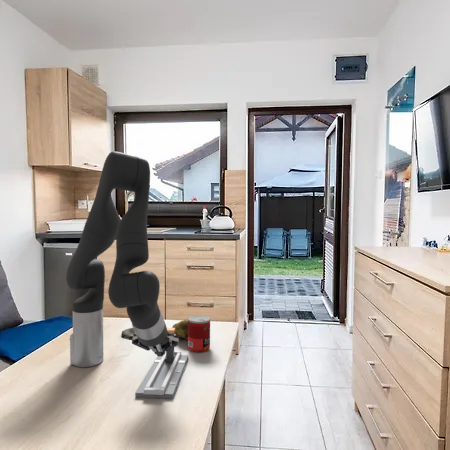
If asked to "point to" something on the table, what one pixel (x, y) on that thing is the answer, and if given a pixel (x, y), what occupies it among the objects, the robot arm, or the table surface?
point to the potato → (181, 329)
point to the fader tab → (170, 353)
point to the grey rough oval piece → (128, 333)
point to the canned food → (199, 333)
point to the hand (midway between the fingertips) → (160, 353)
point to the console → (163, 377)
